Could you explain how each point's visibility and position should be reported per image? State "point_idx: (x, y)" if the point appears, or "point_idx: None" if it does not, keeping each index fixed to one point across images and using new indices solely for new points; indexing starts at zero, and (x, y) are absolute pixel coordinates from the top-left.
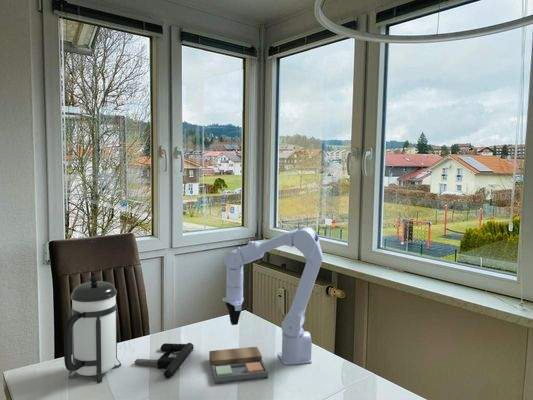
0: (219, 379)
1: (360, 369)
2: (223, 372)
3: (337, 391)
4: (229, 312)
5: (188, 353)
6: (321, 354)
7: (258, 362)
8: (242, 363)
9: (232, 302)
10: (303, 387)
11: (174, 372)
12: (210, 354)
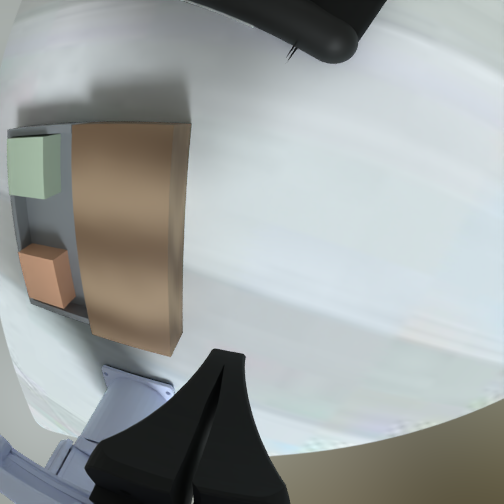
0: None
1: None
2: (11, 163)
3: (23, 374)
4: (142, 421)
5: (240, 18)
6: None
7: (60, 304)
8: None
9: (13, 501)
10: (22, 338)
11: None
12: (131, 125)
